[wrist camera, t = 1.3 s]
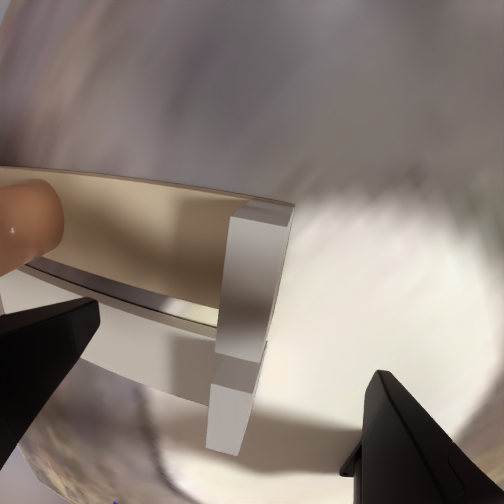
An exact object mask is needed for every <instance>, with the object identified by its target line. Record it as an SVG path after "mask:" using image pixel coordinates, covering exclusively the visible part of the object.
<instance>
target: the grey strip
mask: <svg viewBox="0 0 504 504" xmlns="http://www.w3.org/2000/svg"><path fill="white" fill-rule="evenodd" d="M0 294H1V298H2V302H3V307H4V310H5V314H9V313H13V312H18V311H23V310H27V309H32V308H37V307H41V306H46V305H50V304H55V303H60V302H64V301H69V300H73V299H78V298H82V297H91V298H93V299H96V300H97V301H98V303H99V310H100V319H101V322H100V326H99V328H98V330H97V331H96V333H95V334H94V336H93V338H92V339H91V341H90V342H89V344H88V345H87V347H86V349H85V350H84V352H83V354H82V355H81V358H83V359H85V360H87V361H89V362H91V363H94V364H96V365H98V366H100V367H103V368H105V369H107V370H109V371H112V372H114V373H116V374H119V375H121V376H124V377H126V378H129V379H131V380H134V381H136V382H139V383H141V384H144V385H147V386H149V387H152V388H155V389H158V390H160V391H163V392H166V393H169V394H172V395H175V396H178V397H181V398H184V399H187V400H190V401H194V402H197V403H200V404H204V405H207V406H209V412H208V424H207V435H206V447H205V448H208V449H211V450H215V451H219V452H222V453H226V454H230V455H234V456H238V454H239V451H240V447H241V444H242V441H243V437H244V434H245V431H246V427H247V424H248V420H249V417H250V413H251V410H252V406H253V402H254V398H255V394H256V389H257V385H258V381H259V377H260V372H261V368H262V364H263V359H264V355H265V350H266V346H267V341H266V342H265V346H264V349H263V353H262V356H261V360H260V363H256V362H252V361H248V360H244V359H240V358H236V357H232V356H228V355H224V354H220V353H216V352H214V351H215V341H216V332H217V329H216V328H212V327H209V326H205V325H201V324H197V323H194V322H190V321H186V320H183V319H179V318H176V317H172V316H169V315H166V314H162V313H159V312H156V311H152V310H149V309H146V308H142V307H139V306H136V305H133V304H130V303H127V302H124V301H121V300H118V299H115V298H112V297H109V296H106V295H103V294H100V293H97V292H94V291H91V290H88V289H86V288H83V287H80V286H77V285H75V284H72V283H69V282H66V281H64V280H61V279H59V278H56V277H53V276H51V275H48V274H46V273H43V272H41V271H38V270H36V269H33V268H31V267H28V266H26V265H22V266H20V267H19V268H17V269H15V270H13V271H11V272H9V273H7V274H5V275H4V276H2V277H0Z"/></svg>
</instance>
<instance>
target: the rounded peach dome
mask: <svg viewBox="0 0 504 504" xmlns="http://www.w3.org/2000/svg"><path fill="white" fill-rule="evenodd" d="M63 232H64V214H63V209H62V205H61V202H60V199H59V197H58V195H57V193H56V191H55V190H54V188H53V187H52V186H51V185H50V184H49V183H48V182H47V181H45V180H43V179H34V180H29V181H25V182H21V183H17V184H13V185H9V186H5V187H1V188H0V277H2V276H4V275H5V274H7V273H9V272H11V271H13V270H15V269H17V268H19V267H20V266H22V265H24V264H26V263H28V262H30V261H32V260H34V259H36V258H38V257H40V256H42V255H44V254H46V253H48V252H50V251H52V250H54V249H55V248H56V247H57V246H58V245H59V244H60V242H61V240H62V237H63Z"/></svg>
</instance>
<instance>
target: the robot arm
mask: <svg viewBox="0 0 504 504" xmlns="http://www.w3.org/2000/svg"><path fill="white" fill-rule="evenodd" d="M100 322H101V319H100V310H99V303H98V301H97V300H96V299H93V298H91V297H82V298H78V299H73V300H69V301H64V302H60V303H55V304H50V305H46V306H41V307H37V308H32V309H27V310H23V311H18V312H13V313H9V314H4V315H1V316H0V470H1V469H2V467H3V465H4V464H5V462H6V461H7V459H8V458H9V456H10V455H11V453H12V452H13V450H14V449H15V447H16V446H17V444H18V442H19V441H20V439H21V438H22V436H23V435H24V433H25V432H26V431H27V429H28V428H29V426H30V425H31V423H32V422H33V420H34V419H35V418H36V416H37V415H38V413H39V412H40V411H41V409H42V408H43V406H44V405H45V404H46V402H47V401H48V400H49V398H50V397H51V395H52V394H53V393H54V391H55V390H56V389H57V387H58V386H59V385H60V383H61V382H62V381H63V379H64V378H65V377H66V375H67V374H68V373H69V371H70V370H71V369H72V368H73V366H74V365H75V364H76V362H77V361H78V360H79V358H80V357H81V355H82V354H83V352H84V350H85V349H86V347H87V345H88V344H89V342H90V341H91V339H92V338H93V336H94V334H95V333H96V331H97V330H98V328H99V326H100ZM452 442H453V440H452V439H451V438H450V437H449V436H448V435H447V434H446V433H445V431H444V430H443V429H442V428H441V427H440V426H439V425H438V424H437V423H436V421H435V420H434V419H433V418H432V417H431V416H430V415H429V414H428V413H427V411H426V410H425V409H424V408H423V407H422V406H421V405H420V404H419V403H418V402H417V400H416V399H415V398H414V397H413V396H412V395H411V394H410V393H409V392H408V391H407V390H406V388H405V387H404V386H403V385H402V384H401V383H400V382H399V381H398V380H397V379H396V378H395V377H394V375H393V374H392V373H391V372H390V371H385V370H377V371H376V372H375V373H374V375H373V377H372V379H371V381H370V383H369V385H368V387H367V389H366V392H365V400H364V415H363V428H362V440H361V441H360V443H359V444H358V446H357V447H356V449H355V450H354V452H353V453H352V454H351V456H350V457H349V458H348V460H347V461H346V463H345V464H344V465H343V467H342V468H341V469H340V472H339V475H340V476H343V477H354V501H353V504H504V491H503V490H502V489H501V488H500V487H499V486H497V485H496V484H495V483H494V482H493V481H492V480H491V479H490V478H489V477H488V476H487V475H486V474H485V473H483V472H482V471H481V470H480V469H479V468H478V467H477V466H476V465H475V464H474V463H473V462H472V461H471V460H470V459H469V458H468V457H467V456H466V455H465V454H464V453H463V451H462V450H461V449H460V448H459V447H458V446H457V445H456V444H455V443H454V442H453V443H452Z"/></svg>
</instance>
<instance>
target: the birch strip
mask: <svg viewBox="0 0 504 504" xmlns="http://www.w3.org/2000/svg"><path fill="white" fill-rule="evenodd" d="M34 179H43V180H45V181H47V182H48V183H49V184H50V185H51V186H52V187H53V188H54V190H55V191H56V193H57V195H58V197H59V199H60V202H61V205H62V209H63V214H64V232H63V237H62V240H61V242H60V244H59V245H58V246H57V247H56V248H55V249H54V250H52V251H50V252H48V253H46V254H44V255H42V257H45V258H48V259H51V260H53V261H56V262H59V263H62V264H65V265H68V266H71V267H74V268H77V269H80V270H83V271H86V272H89V273H92V274H96V275H99V276H102V277H105V278H108V279H112V280H115V281H118V282H121V283H125V284H128V285H131V286H135V287H138V288H142V289H145V290H149V291H152V292H156V293H159V294H163V295H166V296H170V297H174V298H177V299H181V300H185V301H189V302H192V303H196V304H200V305H204V306H208V307H212V308H216V309H219V314H218V323H217V332H216V341H215V351H214V352H216V353H220V354H224V355H228V356H232V357H236V358H240V359H244V360H248V361H252V362H256V363H260V360H261V356H262V353H263V349H264V346H265V342H266V339H267V335H268V332H269V328H270V324H271V321H272V317H273V313H274V309H275V304H276V300H277V295H278V290H279V285H280V280H281V275H282V270H283V265H284V260H285V255H286V250H287V245H288V240H289V235H290V230H291V224H292V219H293V214H294V208H295V204H291V203H286V202H280V201H275V200H270V199H264V198H259V197H254V196H248V195H242V194H237V193H231V192H225V191H219V190H213V189H207V188H200V187H194V186H187V185H181V184H174V183H167V182H160V181H152V180H145V179H137V178H129V177H121V176H113V175H104V174H95V173H85V172H75V171H65V170H53V169H41V168H27V167H12V166H0V188H1V187H5V186H9V185H13V184H17V183H21V182H25V181H29V180H34Z"/></svg>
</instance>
